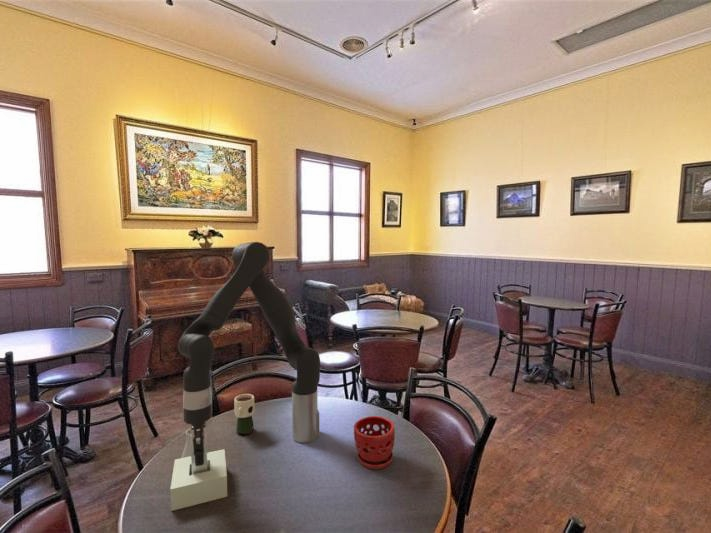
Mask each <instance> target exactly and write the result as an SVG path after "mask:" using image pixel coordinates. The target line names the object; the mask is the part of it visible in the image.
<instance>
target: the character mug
mask: <svg viewBox="0 0 711 533" xmlns="http://www.w3.org/2000/svg"><path fill="white" fill-rule="evenodd" d="M233 401H234V402H233V404H234V416H235V418H236V419H237V420H236V430H235V431H236V433H238V434H244V435H245V434H246V435H247V434H250V433H252V432H253V430H254V429H255V426H254V420H253V415H254V414H255V411H256V410H255V409H256V408H255V396H254V395H253V394H251V393H242V394H239V395H236V396H235V397H234V399H233Z"/></svg>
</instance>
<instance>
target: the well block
mask: <svg viewBox="0 0 711 533" xmlns="http://www.w3.org/2000/svg"><path fill="white" fill-rule="evenodd" d="M225 453H226V451H225V449H224V448H223V449H219V450H214V451H207V468H208V471H207V472H202V473H198V474H194V475H192V462H191V456H189V457H185V458H181V457H180V458H176V459H174V463H173V470H172V476H171V482H170V488H169V489H170V490H169V491H170V492H169V493H170V510H171V511H172V512H173V511H176V510H177V511H178V510H180V509H184V508H188V507H193V506H196V505H200V504H204V503H207V502H208V503H209V502H211V501H215V500H219V499H223V498H226V497H228V474H227V464H226V463H227V462H226V454H225Z"/></svg>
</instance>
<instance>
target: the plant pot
mask: <svg viewBox="0 0 711 533" xmlns="http://www.w3.org/2000/svg"><path fill="white" fill-rule="evenodd" d="M382 425H383V427H382ZM368 426H369V427H368ZM374 426H378V430H376V429H374ZM362 429H363V430H362ZM395 430H396V429H395V424H394V423H393V422H392V420H391V419H389V418H386V417H384V416H377V415H373V416H372V415H369V416H365V417H363V418H361V419H359V420H357V421H356V422H355V423H354V425H353V435H354V436H353V437H354V444H355V447H356V450H357V459H358V461H359V463H361V465H362V466H364V467H365V468H368V469H371V470H372V469H374V470H376V469H377V470H379V469H383V468H386V467H387V466H389V465H390V464H391V463H392V461H393V459H394V453H393V450H394V446H395V438H396V436H395V435H396V434H395V433H396V431H395ZM370 432H371V433H370ZM382 432H384V433H382Z"/></svg>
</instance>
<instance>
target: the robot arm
mask: <svg viewBox="0 0 711 533" xmlns="http://www.w3.org/2000/svg"><path fill="white" fill-rule="evenodd" d="M232 250H233V251H232V253H231V259H232V262H233V265H234V266H235V268H236V270H235V271H234V272H233V275H231V277H230V278H229V279H228V280H227V281H226V283H225V282H224V283H225V284H223V285H222V286H221V287H220V288H219V289H218V290H217V292H215V293H214V294H213V296H212V297H211V299H210V300H209V301H208V303H207V305H206V306H205V307H204V308H203V311H202V312H201V314H200V315H199V316H198V317H197V319H196V320H194V321H193V322H192V323H191V324H190V325H189V327H188V328H186V329H185V330H184V332H183V333H182V335H181V336H180V337H179V340H178V344H177V350H178V352H179V354H180V355H181V356H184V357H186V358H189V366H187V367H186V368H185V369H184V371H183V375H182V376H183V377H182V379H183V380H182V381H183V383H182V385H183V394H182V395H183V396H182V408H183V410H182V411H183V422H184V423H186V424H187V425H190V426H191V427H190V429H191V435H192V445H193V446H194V452H193V454H194V455H195V466H200V465H203V464H204V443H205V433H206V434H207V422H208V421H209V420H211V418H212V417H213V393H212V392H213V391H212V386H211V369H212V365H213V360H214V356H215V345H214V341H213V340H212V338H211V337H209V336H210V335H211V334H212V333H213V332H217V331H220V330H221V329H222V328H223V326H224V325H225V323H226V321H227V320H228V318H229V316H230V315H231V313H232V311H233V310H234V309H235V307H236V305H237V304H238V302H239V300H240V299H241V298H242V296H243V295H244V294H245V293H246V291H247V289H248V288H249V289H250V291H251V293H252V295H253V297H254V298H255V300H256V302H257V304H258V306H259V307H260V309H261V311H262V313H263V316H264V317H265V320H266V321H267V323H268V324H269V326H270V328H271V330H272V331H273V333H274V335H275V336H276V338H277V339H278V341H279V343H280V346H281V347H282V350H283V353H284V355H285V357H286V360H287V364H288V365H289V366H290V367H291V369H294V370H295V371H296V380H294V381H293V382H292V383H291V415H292V416H291V423H292V428H291V430H292V432H291V433H292V439H293V440H294V441H295V442H297V443H310V442H313V441H315V440H316V439H318V438H320V437H321V436H320V433H321V432H320V410H319V409H318V406H319V405H318V404H319V403H318V385H319V383H320V378H321V374H320V373H321V357H320V354H319V353H318V351H317V350H316V349H314V348H312V347H310V346H307V345H306V344H305V343H304V341H303V339H302V338H301V336H300V335H299V333H298V330H297V326H296V317H295V313H294V310H293V308H292V306H291V303H290V302H289V300H288V299H287V298H288V297H287V296H286V295H285V294H284V293H283V292H282V291H281V290H280V288H279V287H277V285H275V284H274V283H273V281H271V280H270V279H269V277H268V276H267V275H266V273H265V271H264V269H265V267H267V264H268V263H269V261H270V250H269V248H268V247H267V245H266V244H264V243H262V242H259V241H250V242H244V243H240V244H238V245H236V246H235V247H234V248H233V249H232Z"/></svg>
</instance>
